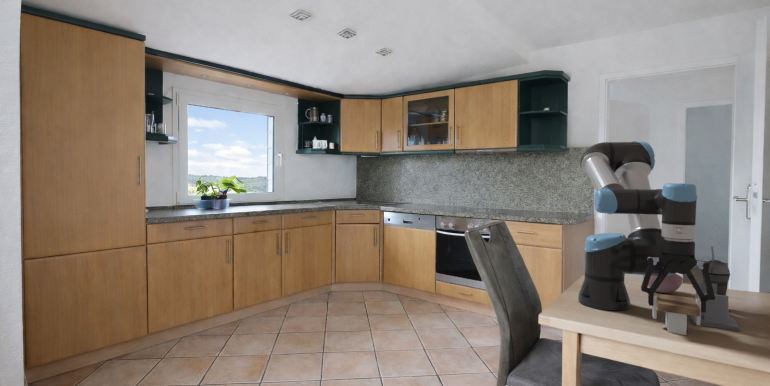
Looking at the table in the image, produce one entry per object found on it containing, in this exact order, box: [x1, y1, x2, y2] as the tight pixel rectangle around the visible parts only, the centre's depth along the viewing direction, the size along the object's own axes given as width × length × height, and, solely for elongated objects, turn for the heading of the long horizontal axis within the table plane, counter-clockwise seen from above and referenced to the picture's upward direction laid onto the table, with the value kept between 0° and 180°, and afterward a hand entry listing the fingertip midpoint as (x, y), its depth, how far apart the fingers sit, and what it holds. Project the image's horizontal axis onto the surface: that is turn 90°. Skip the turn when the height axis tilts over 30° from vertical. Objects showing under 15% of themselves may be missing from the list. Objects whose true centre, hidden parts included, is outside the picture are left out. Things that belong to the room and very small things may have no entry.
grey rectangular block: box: [664, 312, 688, 336], centre depth 110 cm, size 4×7×6 cm, turn 149°
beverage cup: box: [700, 245, 731, 296], centre depth 128 cm, size 7×7×20 cm
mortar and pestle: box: [642, 273, 684, 294], centre depth 146 cm, size 12×12×11 cm
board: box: [655, 292, 700, 317], centre depth 110 cm, size 9×11×2 cm
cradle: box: [688, 281, 741, 332], centre depth 119 cm, size 10×17×9 cm, turn 149°
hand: (675, 320), depth 110 cm, fingers closed on board, 9 cm apart
